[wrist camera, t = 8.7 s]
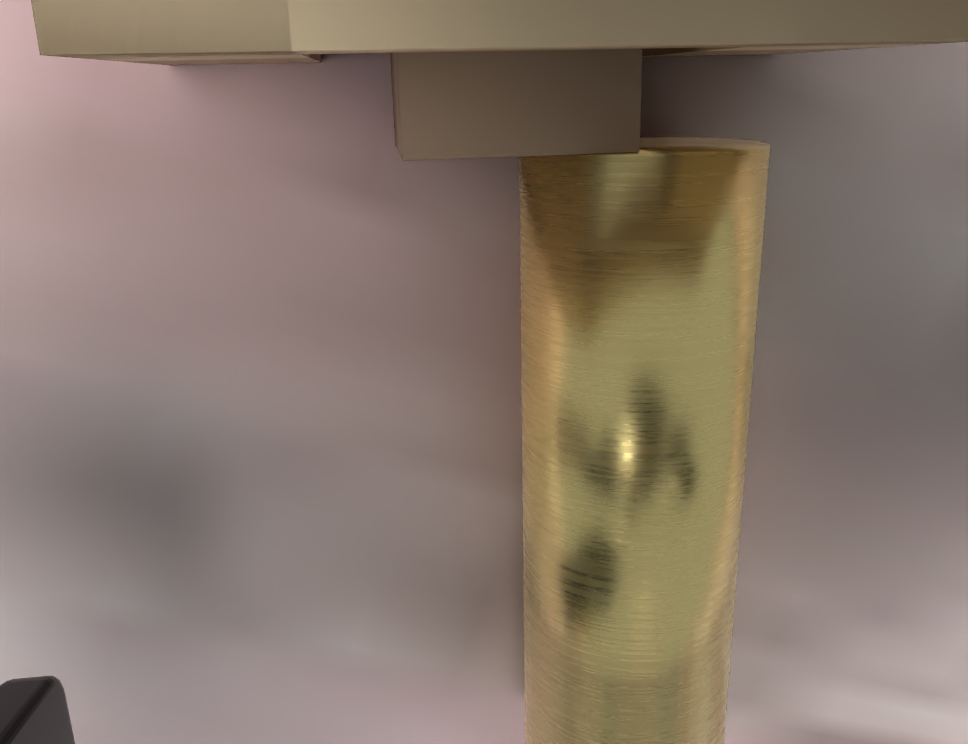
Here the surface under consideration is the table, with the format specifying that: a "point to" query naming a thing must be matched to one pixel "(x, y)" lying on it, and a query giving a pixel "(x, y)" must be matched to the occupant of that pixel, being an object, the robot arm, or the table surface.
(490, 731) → the table surface
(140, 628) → the table surface
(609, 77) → the block
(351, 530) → the table surface
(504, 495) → the table surface
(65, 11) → the bearing block
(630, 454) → the axle
